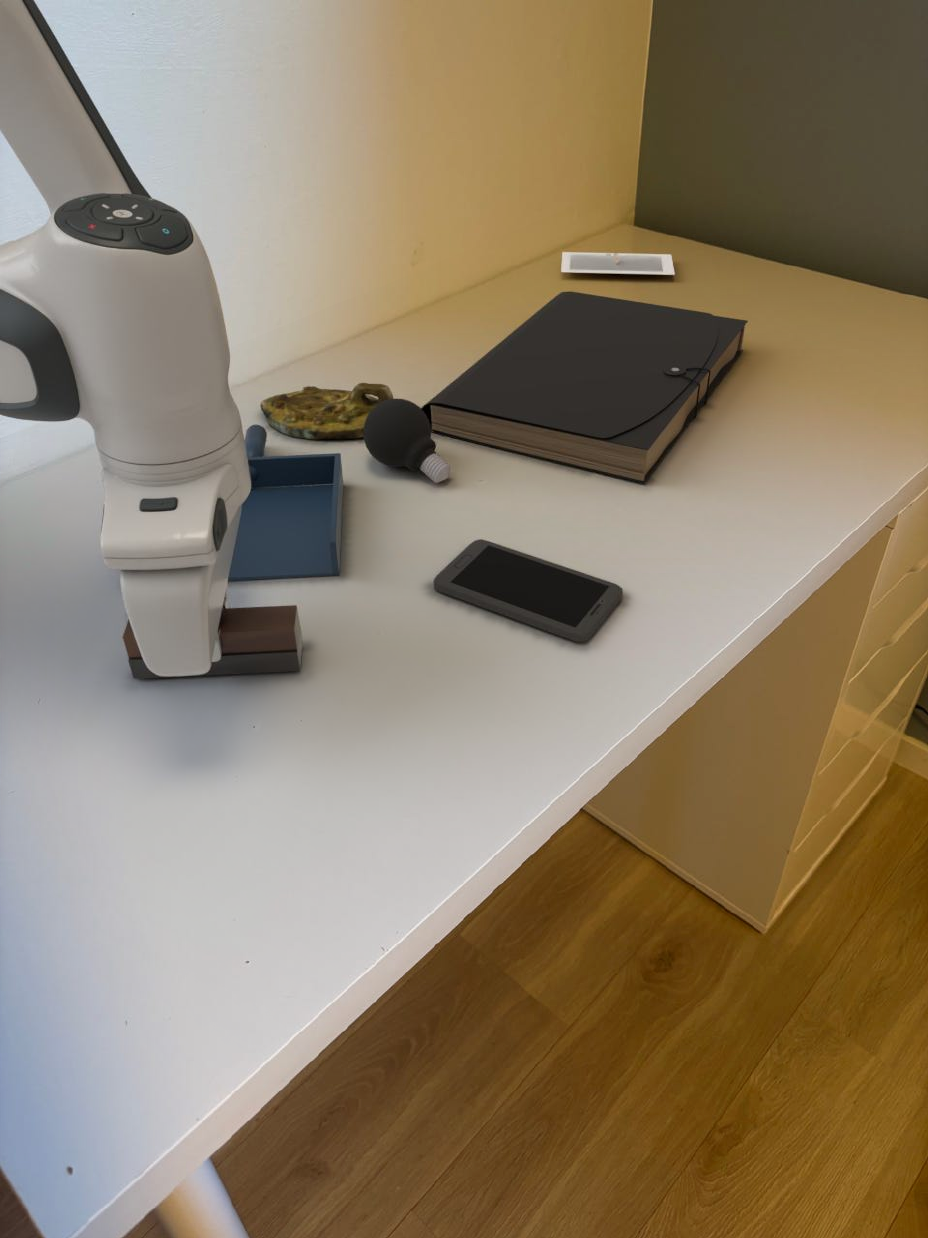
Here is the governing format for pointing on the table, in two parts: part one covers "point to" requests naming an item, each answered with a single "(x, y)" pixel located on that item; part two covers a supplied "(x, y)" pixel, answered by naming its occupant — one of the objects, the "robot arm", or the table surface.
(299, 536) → the dustpan
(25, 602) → the table surface
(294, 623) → the wiper
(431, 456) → the light bulb
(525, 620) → the cell phone
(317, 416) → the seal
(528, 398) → the black leather journal
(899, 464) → the table surface
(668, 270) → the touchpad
